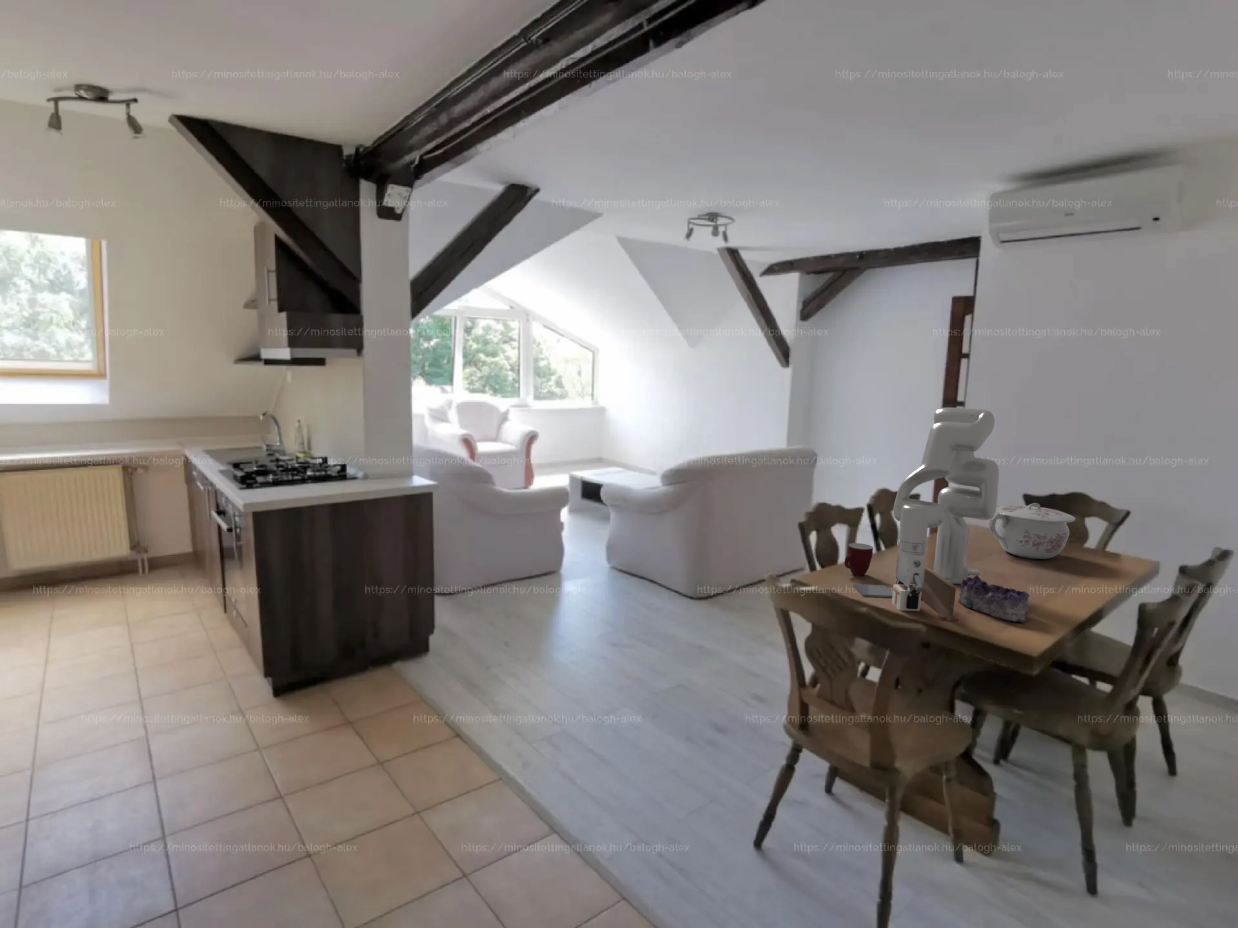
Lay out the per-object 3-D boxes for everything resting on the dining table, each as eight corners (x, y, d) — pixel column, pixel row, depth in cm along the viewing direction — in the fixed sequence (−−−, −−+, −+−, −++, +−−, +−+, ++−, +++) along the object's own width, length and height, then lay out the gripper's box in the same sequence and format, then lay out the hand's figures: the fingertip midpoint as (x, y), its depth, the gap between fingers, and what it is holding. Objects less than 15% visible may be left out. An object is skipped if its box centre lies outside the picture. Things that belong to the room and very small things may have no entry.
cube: (911, 603, 203) (913, 584, 202) (919, 611, 197) (921, 590, 196) (891, 603, 204) (892, 583, 203) (898, 610, 198) (900, 590, 197)
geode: (947, 606, 203) (951, 573, 203) (965, 603, 210) (969, 572, 210) (1020, 625, 187) (1025, 589, 187) (1036, 621, 194) (1041, 587, 194)
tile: (884, 586, 218) (884, 585, 218) (895, 597, 208) (895, 595, 208) (853, 585, 219) (853, 583, 218) (863, 596, 209) (863, 594, 209)
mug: (856, 580, 224) (859, 551, 222) (836, 574, 230) (838, 545, 229) (875, 575, 230) (878, 547, 229) (855, 569, 237) (857, 541, 235)
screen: (928, 596, 210) (931, 565, 209) (958, 620, 190) (962, 587, 189) (912, 596, 210) (915, 565, 209) (940, 620, 190) (944, 586, 189)
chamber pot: (1069, 553, 268) (1076, 502, 265) (1071, 569, 245) (1078, 514, 242) (989, 541, 283) (995, 493, 280) (984, 555, 260) (990, 503, 257)
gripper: (937, 555, 189) (931, 614, 192) (912, 539, 206) (907, 594, 209) (910, 554, 189) (904, 613, 192) (887, 538, 206) (882, 593, 209)
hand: (906, 603), depth 200 cm, fingers open, 7 cm apart
